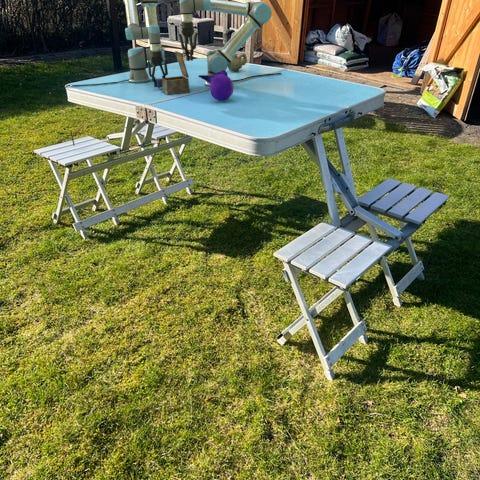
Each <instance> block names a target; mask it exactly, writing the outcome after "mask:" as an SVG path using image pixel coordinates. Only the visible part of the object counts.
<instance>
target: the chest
mask: <svg viewBox="0 0 480 480" xmlns="http://www.w3.org/2000/svg"><path fill="white" fill-rule="evenodd" d="M161 79H162V87H161V88H162V92H163V93H164V94H165V95H167V96H170V95H179V94H185V93H186V94H187V93H190V82H189V78H187V77H185V76H183V75H180V76H169V77H166V78H162V77H161Z"/></svg>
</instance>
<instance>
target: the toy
mask: <svg viewBox="0 0 480 480" xmlns="http://www.w3.org/2000/svg"><path fill="white" fill-rule="evenodd" d="M198 77H199V78H200V79H202V80H204V81H205V82H206V81H208V82H209V83H210V86H209V92H210V95H211V97H212V98H213V99H214V100H217V101H220V102H225V101H227V100H229V99H230V97H232V95H233V94H234V90H235V89H234V82H232V80H233V79H232V78H231V77H229V75H228V73H227V71H226V70H225V71H224V70H223V71H220V72H217V74H216V76H210V75H208V74H205V75H204V74H202V75H200V74H199V75H198Z"/></svg>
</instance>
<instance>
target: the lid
mask: <svg viewBox="0 0 480 480" xmlns="http://www.w3.org/2000/svg"><path fill="white" fill-rule="evenodd" d="M188 51H189V54H186V55H185V52H180V51H178V50H175V51H174V53H175V56H176V59H177V62H178V66H179V70H180V72H181V76H184V77H186V78H188V79H189V78H190V76H189V73H188V70H187V65H186V63H185V60H184V58H185V57H187V55H189V56H190V55H192V52H190V50H188ZM192 56H193V55H192Z"/></svg>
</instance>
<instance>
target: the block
mask: <svg viewBox="0 0 480 480" xmlns="http://www.w3.org/2000/svg"><path fill="white" fill-rule="evenodd" d="M155 79H156V87H155V88H158V89H159V88H163V87H162V78H155Z"/></svg>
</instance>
